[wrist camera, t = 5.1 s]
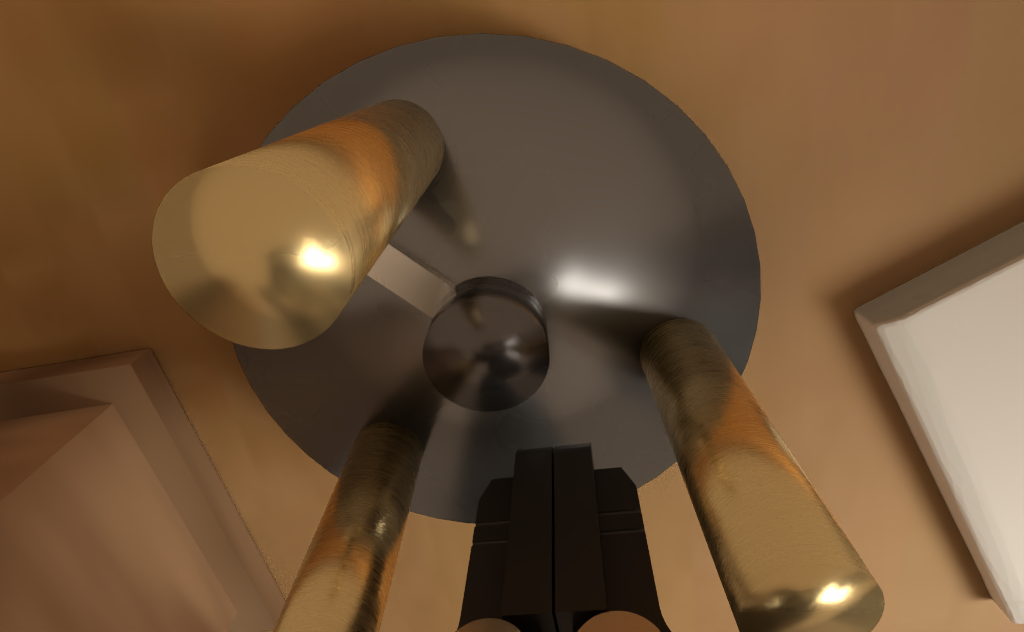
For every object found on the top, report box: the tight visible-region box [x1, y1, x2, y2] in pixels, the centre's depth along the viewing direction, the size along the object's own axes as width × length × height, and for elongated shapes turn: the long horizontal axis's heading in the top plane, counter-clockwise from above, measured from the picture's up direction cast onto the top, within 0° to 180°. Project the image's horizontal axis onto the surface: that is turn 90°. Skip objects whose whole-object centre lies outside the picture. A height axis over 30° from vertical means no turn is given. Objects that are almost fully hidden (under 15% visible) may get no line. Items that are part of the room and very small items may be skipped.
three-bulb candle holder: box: [152, 33, 884, 632], centre depth 10 cm, size 11×11×8 cm
